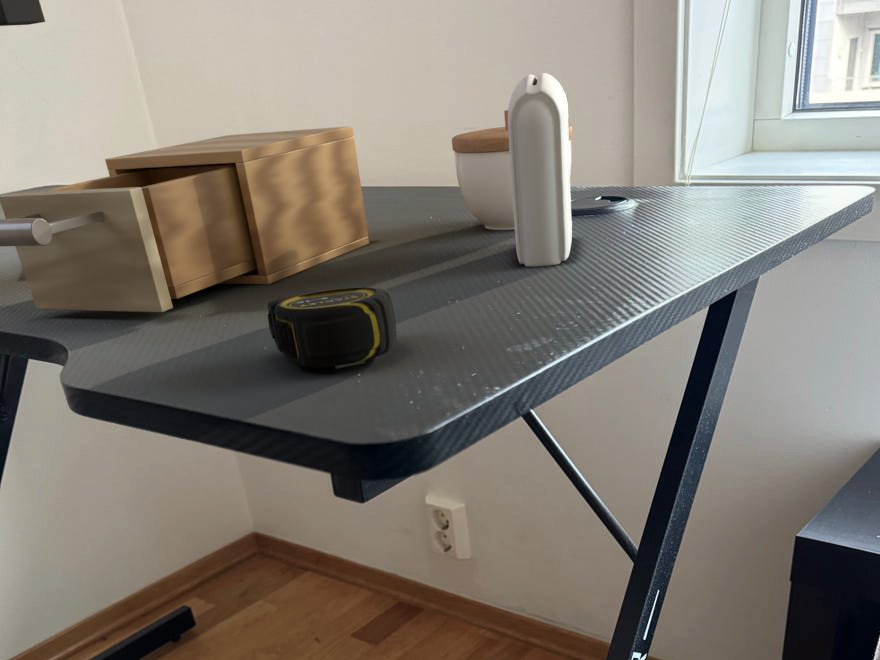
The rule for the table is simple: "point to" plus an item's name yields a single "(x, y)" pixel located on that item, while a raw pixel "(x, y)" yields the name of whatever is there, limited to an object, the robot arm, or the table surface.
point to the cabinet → (281, 193)
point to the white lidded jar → (488, 174)
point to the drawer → (130, 238)
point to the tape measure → (333, 326)
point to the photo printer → (540, 171)
